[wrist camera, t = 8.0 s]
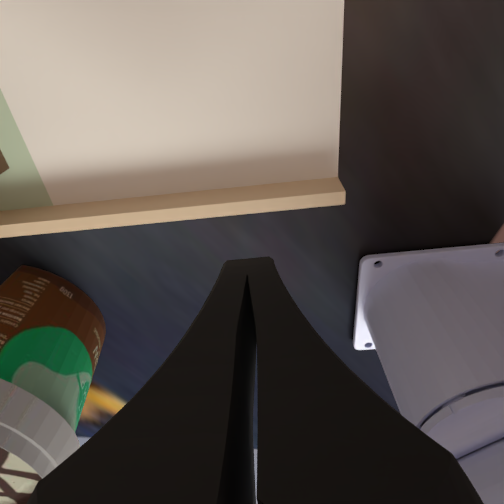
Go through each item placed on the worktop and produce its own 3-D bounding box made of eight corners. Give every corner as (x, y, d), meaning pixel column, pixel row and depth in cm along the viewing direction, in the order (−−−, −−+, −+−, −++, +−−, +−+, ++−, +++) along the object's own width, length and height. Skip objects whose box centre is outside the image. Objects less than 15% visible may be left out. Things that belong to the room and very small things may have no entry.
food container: (119, 387, 28) (68, 545, 20) (36, 376, 27) (-54, 537, 19) (128, 264, 22) (58, 423, 13) (19, 243, 21) (-130, 402, 12)
